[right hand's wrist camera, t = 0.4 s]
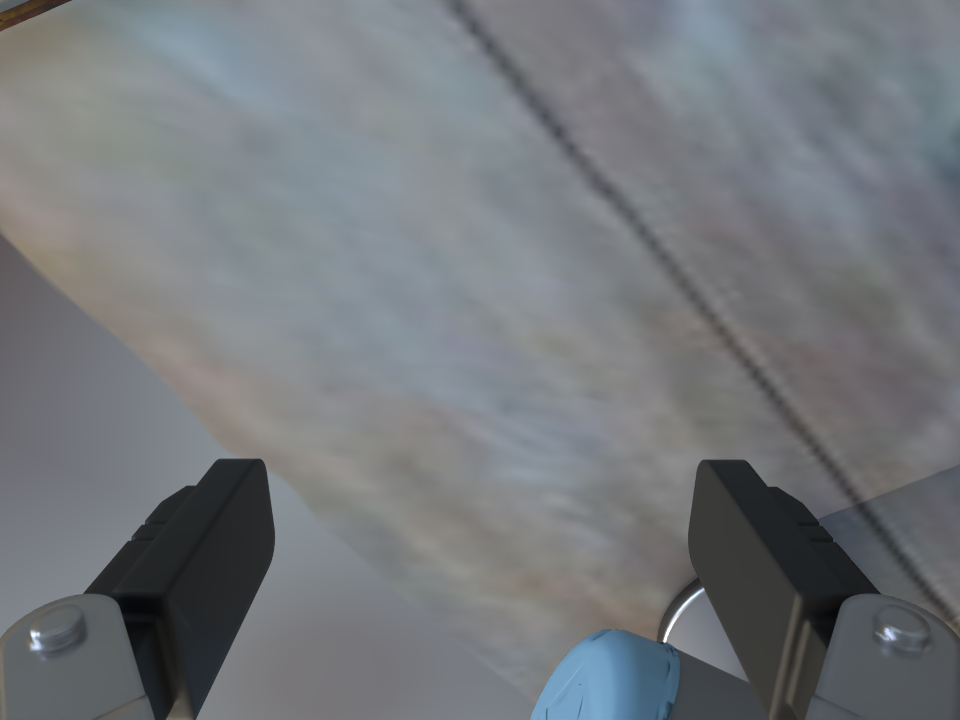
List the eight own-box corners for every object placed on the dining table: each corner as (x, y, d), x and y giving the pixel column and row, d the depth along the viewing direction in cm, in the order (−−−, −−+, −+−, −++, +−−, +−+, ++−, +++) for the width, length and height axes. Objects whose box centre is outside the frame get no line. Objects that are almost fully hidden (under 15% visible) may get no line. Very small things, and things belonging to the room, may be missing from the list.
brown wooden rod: (-80, 67, 35) (-95, 65, 34) (-85, 58, 35) (-101, 57, 34) (154, -36, 33) (145, -40, 32) (150, -45, 33) (140, -50, 32)
